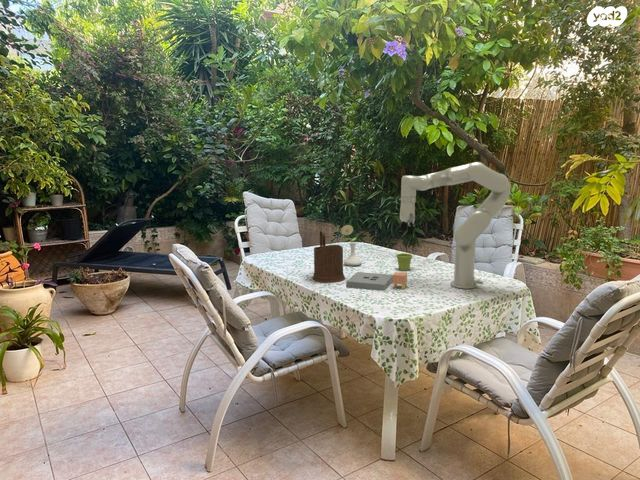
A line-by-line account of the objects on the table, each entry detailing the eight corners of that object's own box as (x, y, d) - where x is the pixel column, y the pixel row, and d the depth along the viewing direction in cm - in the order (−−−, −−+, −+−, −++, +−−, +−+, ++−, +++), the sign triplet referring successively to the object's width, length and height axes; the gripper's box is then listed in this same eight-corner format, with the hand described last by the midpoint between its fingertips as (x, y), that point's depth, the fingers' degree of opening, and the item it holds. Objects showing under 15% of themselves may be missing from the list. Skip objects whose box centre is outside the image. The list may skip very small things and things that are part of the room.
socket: (393, 280, 239) (393, 274, 238) (384, 290, 220) (384, 284, 220) (357, 277, 246) (357, 272, 245) (346, 286, 228) (346, 281, 227)
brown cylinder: (316, 284, 233) (316, 237, 229) (306, 273, 256) (305, 230, 252) (350, 281, 238) (350, 235, 234) (336, 270, 261) (336, 228, 256)
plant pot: (411, 272, 255) (411, 257, 254) (394, 270, 258) (394, 256, 257) (413, 268, 264) (413, 253, 262) (397, 267, 267) (397, 253, 265)
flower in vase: (362, 262, 280) (362, 223, 275) (362, 267, 269) (362, 226, 264) (341, 262, 281) (341, 223, 277) (340, 266, 270) (340, 226, 266)
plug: (406, 286, 227) (407, 272, 226) (404, 289, 222) (404, 275, 220) (395, 285, 229) (395, 272, 228) (392, 288, 224) (392, 274, 223)
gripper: (395, 198, 237) (394, 229, 240) (407, 201, 220) (406, 235, 224) (408, 197, 239) (407, 229, 242) (421, 201, 222) (420, 234, 225)
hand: (407, 232), depth 233 cm, fingers open, 9 cm apart
